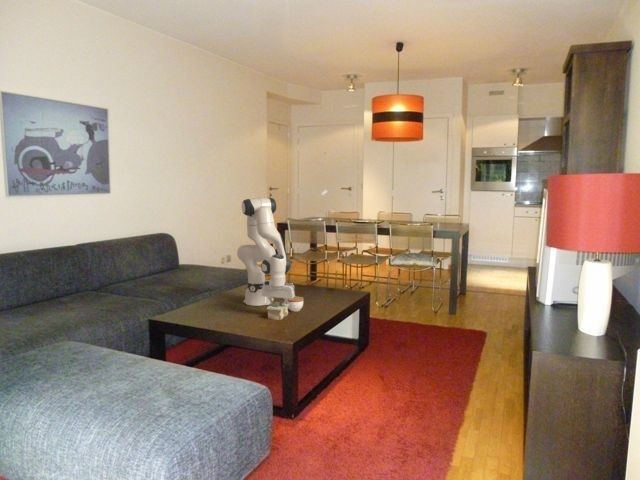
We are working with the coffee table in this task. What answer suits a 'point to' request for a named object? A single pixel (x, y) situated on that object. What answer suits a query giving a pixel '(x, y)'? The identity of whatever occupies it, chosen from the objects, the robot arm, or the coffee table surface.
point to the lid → (277, 306)
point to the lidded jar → (295, 303)
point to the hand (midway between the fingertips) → (277, 304)
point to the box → (277, 314)
